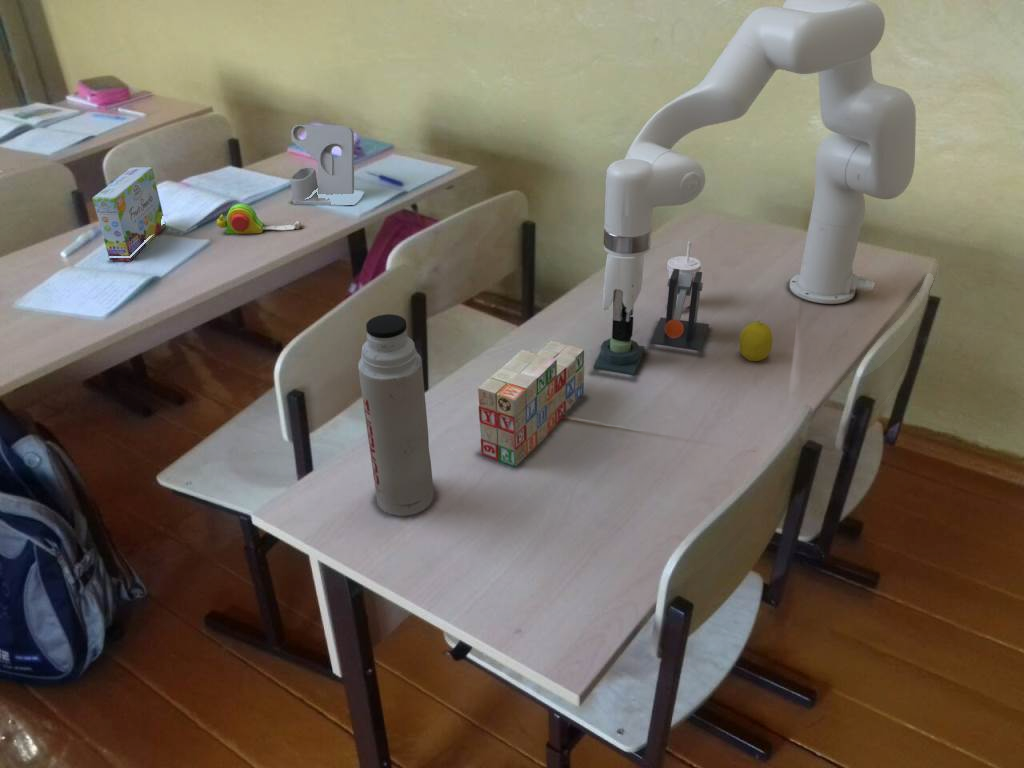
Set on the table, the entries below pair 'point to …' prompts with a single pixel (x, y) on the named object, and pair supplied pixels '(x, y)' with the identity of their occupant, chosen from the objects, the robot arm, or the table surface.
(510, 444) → the stack of blocks
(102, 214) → the snack box
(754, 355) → the lemon
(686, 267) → the smoothie
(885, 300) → the table surface
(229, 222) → the toy measuring tape
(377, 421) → the thermos bottle
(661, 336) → the switch bracket
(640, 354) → the dark piece
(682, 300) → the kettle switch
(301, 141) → the phone holder
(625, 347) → the green round button
